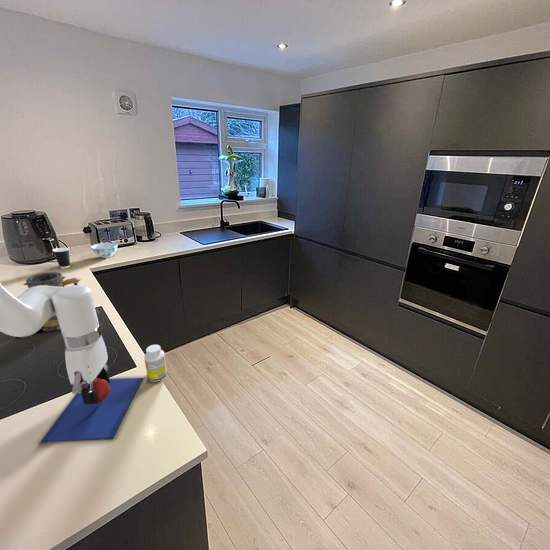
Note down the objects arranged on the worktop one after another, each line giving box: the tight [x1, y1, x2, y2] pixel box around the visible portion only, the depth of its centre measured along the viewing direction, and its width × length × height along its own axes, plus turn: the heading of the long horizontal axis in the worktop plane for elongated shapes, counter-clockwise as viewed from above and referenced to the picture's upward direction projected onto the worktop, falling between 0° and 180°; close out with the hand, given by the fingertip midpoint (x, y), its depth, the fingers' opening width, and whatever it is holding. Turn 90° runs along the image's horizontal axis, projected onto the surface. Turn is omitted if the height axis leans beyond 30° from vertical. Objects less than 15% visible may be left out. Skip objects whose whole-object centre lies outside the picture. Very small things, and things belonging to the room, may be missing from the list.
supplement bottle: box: [143, 344, 168, 382], centre depth 86 cm, size 6×6×10 cm
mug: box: [22, 271, 82, 332], centre depth 111 cm, size 13×17×20 cm
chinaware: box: [91, 242, 118, 259], centre depth 190 cm, size 15×15×8 cm
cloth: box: [41, 377, 144, 443], centre depth 77 cm, size 16×20×1 cm
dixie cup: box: [52, 247, 71, 269], centre depth 170 cm, size 8×8×11 cm
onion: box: [85, 378, 110, 403], centre depth 76 cm, size 6×6×8 cm
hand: (97, 392), depth 76 cm, fingers closed on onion, 5 cm apart
